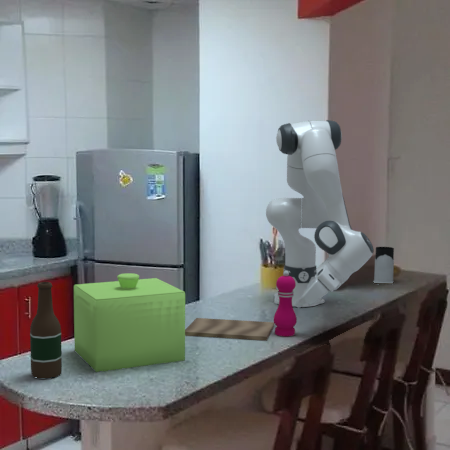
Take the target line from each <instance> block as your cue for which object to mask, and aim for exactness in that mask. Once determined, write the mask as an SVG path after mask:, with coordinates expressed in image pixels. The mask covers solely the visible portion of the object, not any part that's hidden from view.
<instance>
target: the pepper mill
mask: <svg viewBox="0 0 450 450" xmlns="http://www.w3.org/2000/svg"><path fill="white" fill-rule="evenodd" d="M282 274H283V275H281V276H279V277H278V278H277V280H276V283H275V287H276V286H277V288H278V290H277V293H278V296H279V304H278V306H277V309H276V311H275V313H274V316H273V322H274V326H276V327H274V334H275V335H276V336H279V337H292V336H293V337H294V335H295V334H296V328H295V326H296V324H297V322H298V321H297V315H296V312H295V310H294V306H292V297H293V296H294V295H293V293H294V292H293V289H294V288H295V286H296V283H295V280H294V278H292V277H291V276H288V275H289V272H288V271H284V270H283V273H282Z"/></svg>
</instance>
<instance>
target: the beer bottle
mask: <svg viewBox="0 0 450 450" xmlns="http://www.w3.org/2000/svg"><path fill="white" fill-rule="evenodd" d="M36 288H37V289H38V291H37V310H36V314H35V316H34V317H33V319H32V321H31V324H30V325H29V326H30V328H29V329H30V330H29V337H30V339H29V340H30V341H29V342H30V343H29V344H30V345H29V346H30V347H29V348H30V372H31V373H30V374H31V376H32V377H33V376H34V377H37V378H51V377H56V376H57V377H59V376H61V375H62V368H63V367H62V366H63V365H62V360H63V359H62V358H63V356H62V328H61V323H60V321H59V319H58V318H57V316H56V315H55V312H54V307H53V296H52V295H53V293H52V288H53V284H52V282H50V281H41V282H38V283H37V285H36ZM60 374H61V375H60ZM58 375H59V376H58ZM34 377H33V378H34ZM57 377H56V378H57ZM37 378H36V379H37ZM51 379H52V378H51Z"/></svg>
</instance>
